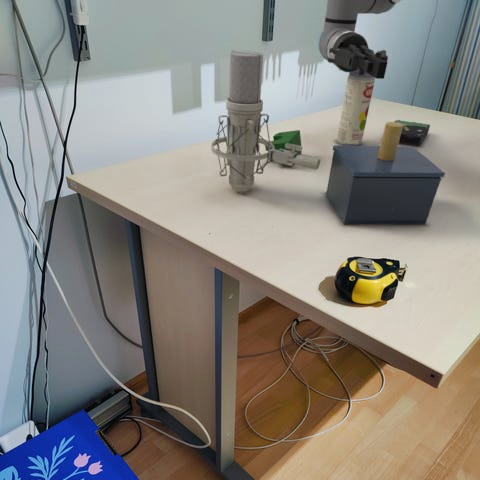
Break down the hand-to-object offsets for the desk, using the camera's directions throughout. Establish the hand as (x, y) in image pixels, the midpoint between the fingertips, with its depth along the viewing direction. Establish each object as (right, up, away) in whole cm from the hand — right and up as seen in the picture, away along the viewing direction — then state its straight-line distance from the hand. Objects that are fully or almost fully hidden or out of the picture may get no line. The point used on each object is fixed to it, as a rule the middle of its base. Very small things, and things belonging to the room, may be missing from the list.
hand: (381, 70), depth 80 cm
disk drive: (+22, +6, +45) cm, 50 cm away
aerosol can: (+4, +2, +38) cm, 39 cm away
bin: (0, -25, +6) cm, 25 cm away
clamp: (-16, -7, +26) cm, 31 cm away
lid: (0, -18, 0) cm, 17 cm away
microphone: (-22, -21, +8) cm, 32 cm away
